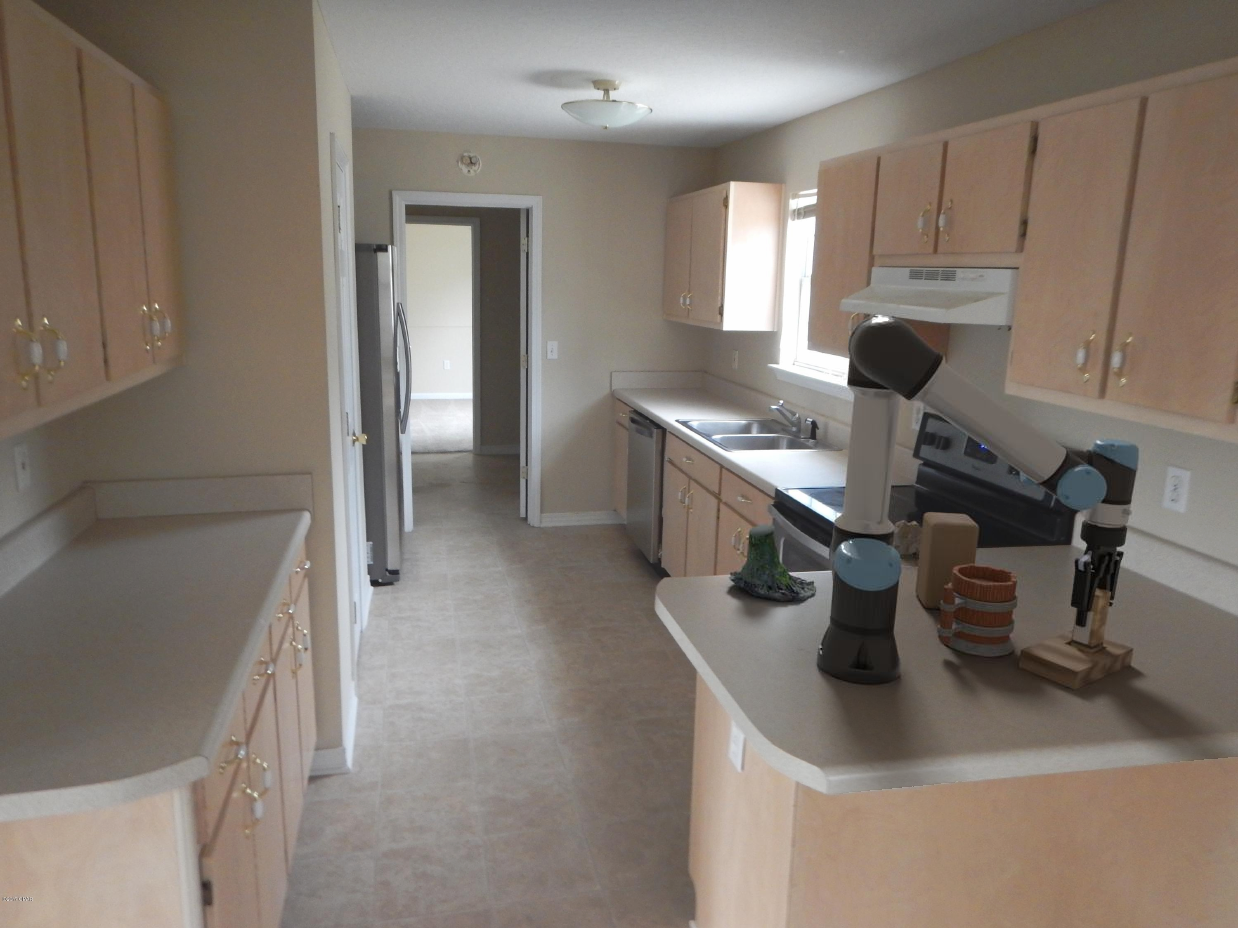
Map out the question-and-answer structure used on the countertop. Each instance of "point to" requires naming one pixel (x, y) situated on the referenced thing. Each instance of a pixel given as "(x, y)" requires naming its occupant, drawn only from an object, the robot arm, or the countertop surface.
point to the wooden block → (943, 553)
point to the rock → (907, 538)
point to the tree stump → (769, 570)
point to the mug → (979, 611)
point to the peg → (1096, 623)
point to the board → (1074, 660)
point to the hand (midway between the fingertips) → (1086, 638)
